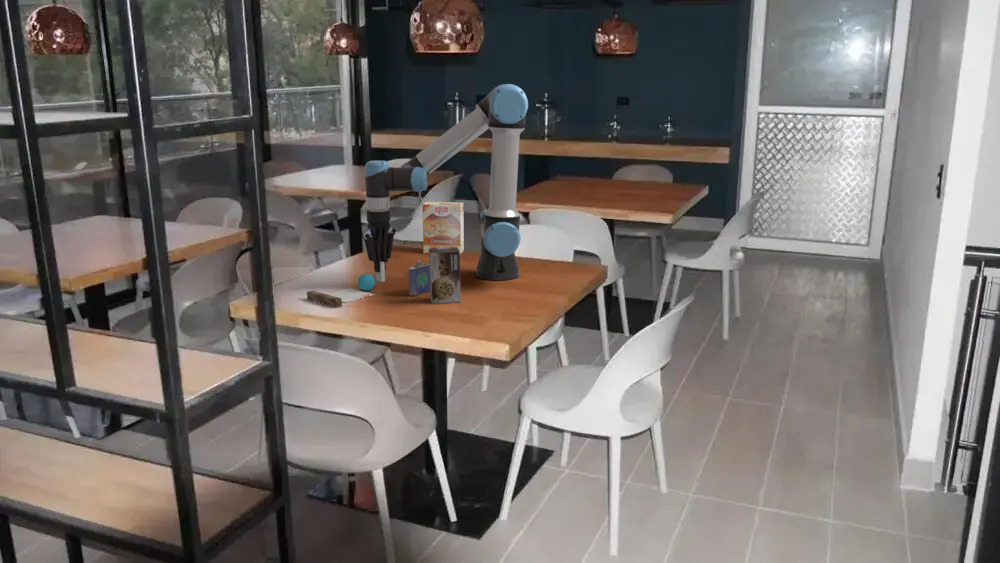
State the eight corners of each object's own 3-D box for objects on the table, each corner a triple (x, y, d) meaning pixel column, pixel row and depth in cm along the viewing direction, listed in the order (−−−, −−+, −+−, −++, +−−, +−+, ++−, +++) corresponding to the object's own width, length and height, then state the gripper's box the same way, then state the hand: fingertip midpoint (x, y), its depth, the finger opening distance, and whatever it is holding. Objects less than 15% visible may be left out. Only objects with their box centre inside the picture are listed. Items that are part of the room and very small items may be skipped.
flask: (412, 296, 255) (411, 263, 252) (406, 295, 257) (405, 262, 254) (433, 291, 262) (432, 258, 259) (426, 289, 263) (426, 257, 261)
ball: (365, 276, 257) (365, 293, 258) (378, 274, 261) (378, 290, 262) (354, 273, 260) (354, 290, 261) (367, 271, 264) (367, 287, 265)
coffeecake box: (423, 253, 315) (422, 203, 310) (426, 249, 322) (425, 201, 317) (461, 254, 314) (460, 204, 309) (464, 251, 320) (463, 201, 316)
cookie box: (458, 297, 255) (458, 246, 251) (461, 302, 249) (460, 251, 245) (429, 298, 253) (428, 247, 249) (431, 303, 247) (430, 252, 243)
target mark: (374, 295, 256) (374, 294, 256) (345, 303, 247) (345, 302, 247) (349, 288, 264) (349, 288, 264) (320, 296, 255) (320, 295, 255)
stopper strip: (341, 306, 244) (341, 298, 243) (336, 307, 242) (336, 299, 242) (312, 298, 253) (312, 290, 252) (307, 299, 251) (306, 291, 250)
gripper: (385, 205, 267) (387, 275, 273) (354, 210, 257) (357, 282, 263) (401, 208, 262) (403, 279, 268) (370, 213, 253) (373, 286, 259)
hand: (380, 281), depth 266 cm, fingers closed
